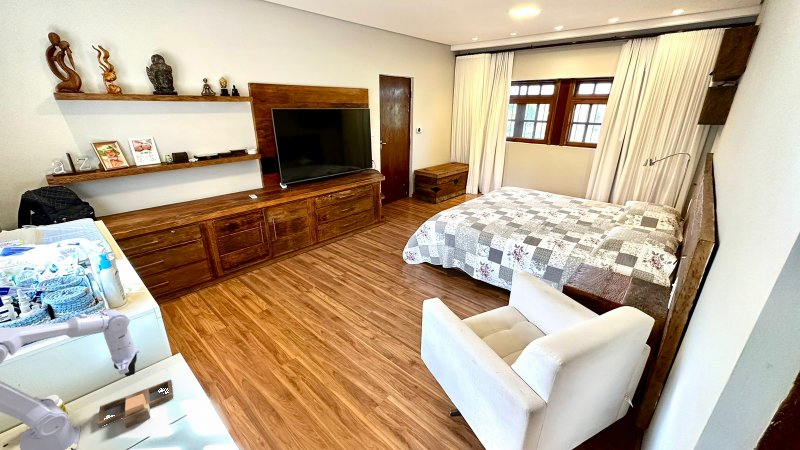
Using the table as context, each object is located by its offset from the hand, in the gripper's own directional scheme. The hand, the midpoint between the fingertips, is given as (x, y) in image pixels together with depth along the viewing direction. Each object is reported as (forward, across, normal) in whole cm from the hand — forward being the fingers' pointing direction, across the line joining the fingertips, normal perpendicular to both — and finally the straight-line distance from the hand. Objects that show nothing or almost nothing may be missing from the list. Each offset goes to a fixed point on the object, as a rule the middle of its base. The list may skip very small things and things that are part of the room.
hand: (130, 373), depth 104 cm
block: (+7, -10, 0) cm, 12 cm away
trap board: (+9, -7, 0) cm, 12 cm away
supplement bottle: (+10, +2, +20) cm, 22 cm away
